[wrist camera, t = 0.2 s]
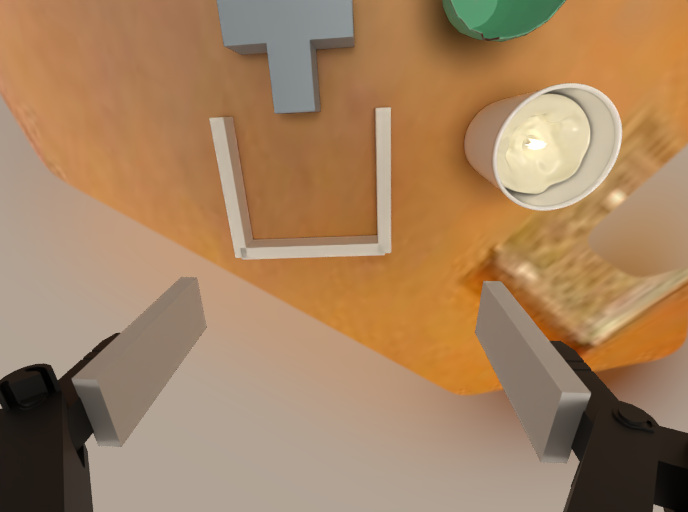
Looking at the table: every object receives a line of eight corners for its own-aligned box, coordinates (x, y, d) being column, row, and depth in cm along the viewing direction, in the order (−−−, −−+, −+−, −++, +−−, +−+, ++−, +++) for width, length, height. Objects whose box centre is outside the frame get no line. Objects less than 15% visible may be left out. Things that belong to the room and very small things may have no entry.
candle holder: (560, 152, 39) (639, 169, 28) (479, 199, 41) (522, 231, 30) (526, 70, 36) (598, 53, 25) (441, 126, 39) (472, 133, 27)
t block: (234, 9, 35) (215, -7, 31) (352, 0, 34) (351, -18, 30) (250, 115, 39) (234, 115, 34) (356, 109, 38) (355, 108, 34)
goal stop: (219, 117, 39) (209, 118, 36) (388, 107, 38) (390, 107, 35) (243, 250, 45) (236, 259, 43) (389, 245, 44) (391, 254, 41)
